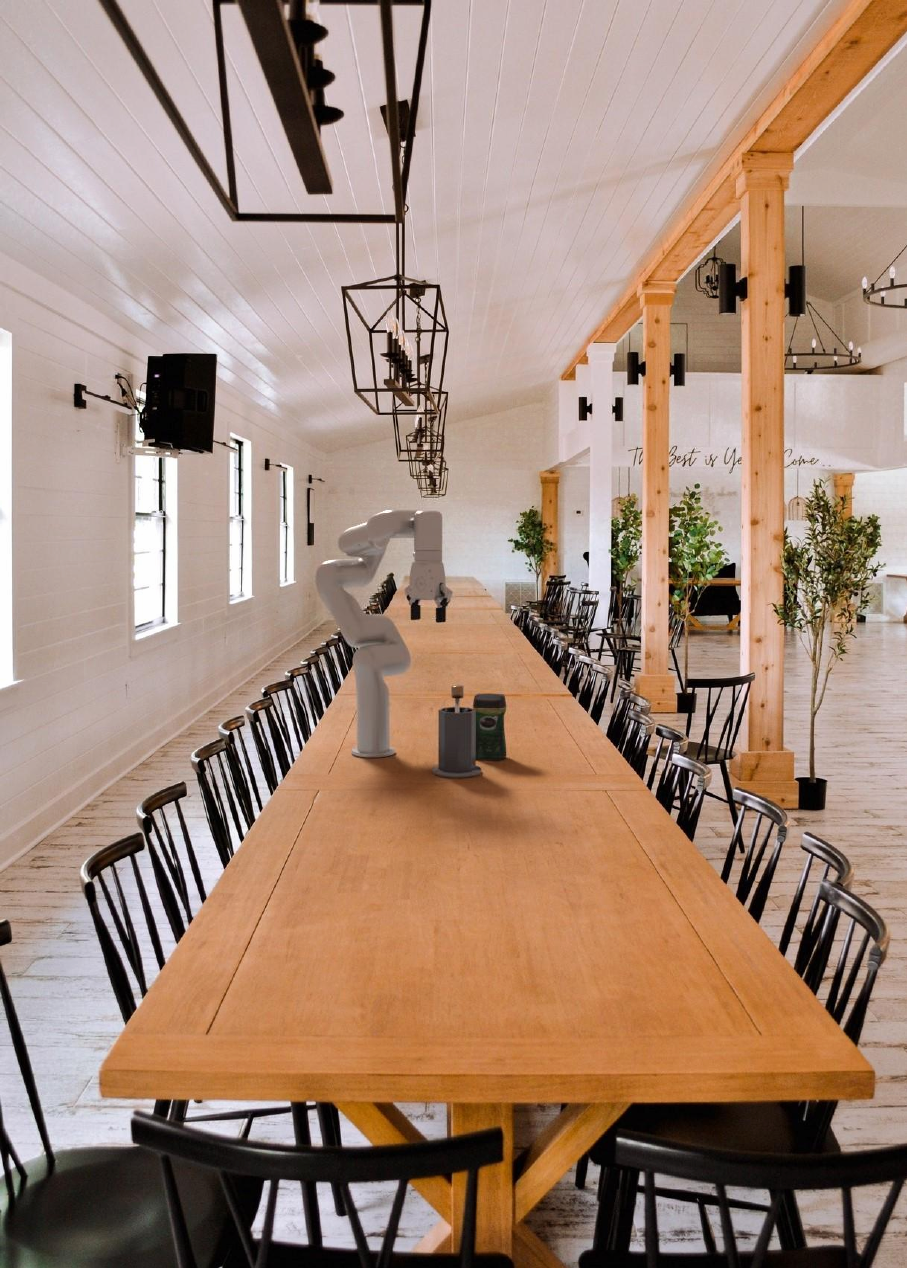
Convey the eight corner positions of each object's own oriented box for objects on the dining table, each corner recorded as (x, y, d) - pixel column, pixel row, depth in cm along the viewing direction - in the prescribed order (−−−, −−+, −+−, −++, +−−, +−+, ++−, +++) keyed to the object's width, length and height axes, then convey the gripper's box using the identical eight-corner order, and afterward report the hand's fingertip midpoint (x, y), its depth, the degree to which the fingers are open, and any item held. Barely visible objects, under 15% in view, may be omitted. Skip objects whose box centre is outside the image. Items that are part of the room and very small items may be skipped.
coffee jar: (507, 755, 299) (508, 691, 297) (504, 761, 292) (505, 696, 290) (474, 754, 301) (474, 690, 299) (470, 760, 293) (471, 695, 291)
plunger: (439, 766, 280) (439, 685, 278) (463, 764, 283) (463, 683, 281) (450, 772, 274) (450, 689, 271) (475, 769, 277) (475, 687, 274)
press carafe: (423, 768, 283) (423, 707, 281) (466, 764, 288) (466, 703, 286) (445, 780, 270) (445, 716, 268) (489, 775, 275) (490, 712, 274)
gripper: (395, 556, 281) (396, 619, 283) (441, 558, 269) (440, 624, 271) (416, 556, 286) (416, 618, 288) (461, 557, 274) (460, 622, 276)
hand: (428, 621), depth 279 cm, fingers open, 9 cm apart
